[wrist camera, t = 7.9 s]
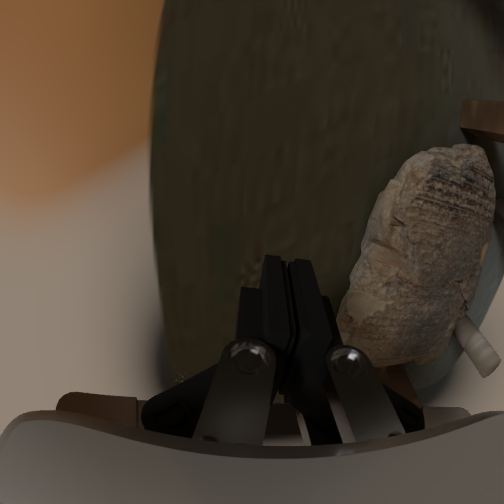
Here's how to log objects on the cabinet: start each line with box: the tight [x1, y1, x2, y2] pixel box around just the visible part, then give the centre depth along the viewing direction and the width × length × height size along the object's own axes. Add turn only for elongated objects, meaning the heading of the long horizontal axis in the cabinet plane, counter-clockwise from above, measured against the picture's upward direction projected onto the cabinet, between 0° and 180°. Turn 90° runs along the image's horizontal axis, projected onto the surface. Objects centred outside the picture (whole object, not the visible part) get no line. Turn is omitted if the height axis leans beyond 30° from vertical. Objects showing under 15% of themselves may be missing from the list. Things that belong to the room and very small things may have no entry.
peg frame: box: [374, 100, 504, 408], centre depth 14 cm, size 27×9×12 cm, turn 172°
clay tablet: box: [336, 144, 496, 368], centre depth 18 cm, size 14×5×20 cm
